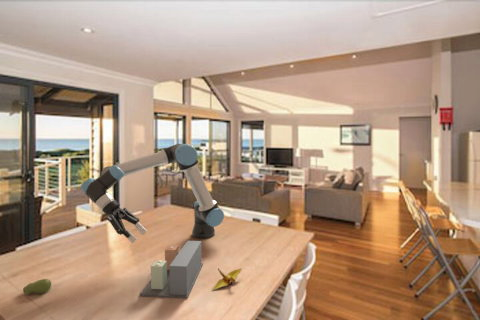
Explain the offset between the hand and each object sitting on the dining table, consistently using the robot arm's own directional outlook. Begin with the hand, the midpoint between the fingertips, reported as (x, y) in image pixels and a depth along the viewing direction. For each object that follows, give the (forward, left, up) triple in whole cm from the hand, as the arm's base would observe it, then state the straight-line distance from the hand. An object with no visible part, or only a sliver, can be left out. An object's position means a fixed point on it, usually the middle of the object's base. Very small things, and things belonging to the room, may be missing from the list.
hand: (140, 236), depth 126 cm
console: (+20, +7, -16) cm, 27 cm away
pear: (-10, -40, -16) cm, 44 cm away
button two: (+22, -1, -15) cm, 27 cm away
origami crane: (+39, +22, -16) cm, 48 cm away
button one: (+12, +10, -15) cm, 22 cm away
